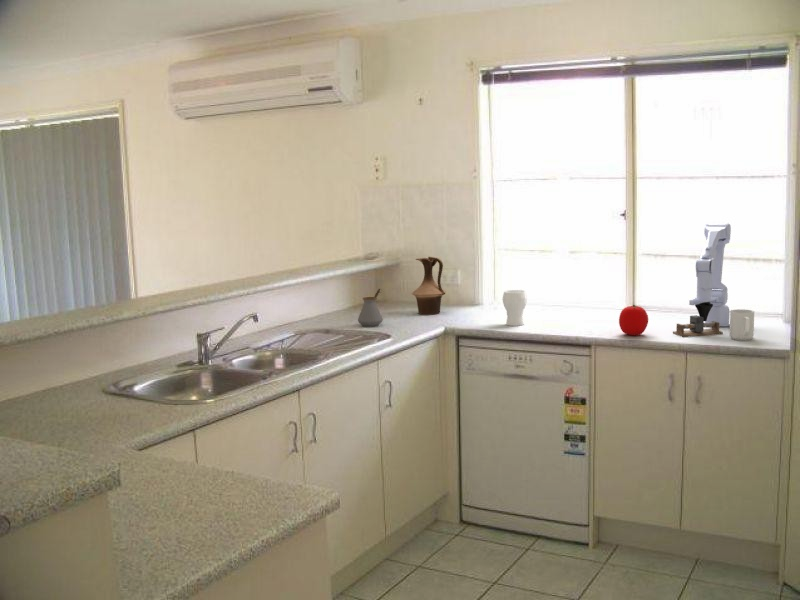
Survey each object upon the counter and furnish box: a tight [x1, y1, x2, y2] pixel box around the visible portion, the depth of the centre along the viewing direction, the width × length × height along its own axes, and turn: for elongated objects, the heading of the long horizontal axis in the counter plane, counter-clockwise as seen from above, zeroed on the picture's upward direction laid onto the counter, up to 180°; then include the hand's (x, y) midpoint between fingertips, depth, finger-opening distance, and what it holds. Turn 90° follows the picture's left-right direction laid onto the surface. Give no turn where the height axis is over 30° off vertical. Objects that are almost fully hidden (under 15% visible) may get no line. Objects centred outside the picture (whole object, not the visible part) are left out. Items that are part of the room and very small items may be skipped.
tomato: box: [618, 304, 649, 336], centre depth 352 cm, size 12×12×13 cm
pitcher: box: [411, 256, 447, 316], centre depth 417 cm, size 18×17×28 cm
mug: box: [729, 308, 755, 341], centre depth 337 cm, size 12×9×11 cm
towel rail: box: [672, 321, 724, 338], centre depth 351 cm, size 18×8×4 cm, turn 102°
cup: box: [502, 289, 528, 327], centre depth 382 cm, size 11×11×15 cm
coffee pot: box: [357, 288, 384, 328], centre depth 394 cm, size 21×12×15 cm, turn 163°
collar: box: [689, 315, 705, 332], centre depth 350 cm, size 3×5×6 cm, turn 12°
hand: (703, 320), depth 351 cm, fingers closed
